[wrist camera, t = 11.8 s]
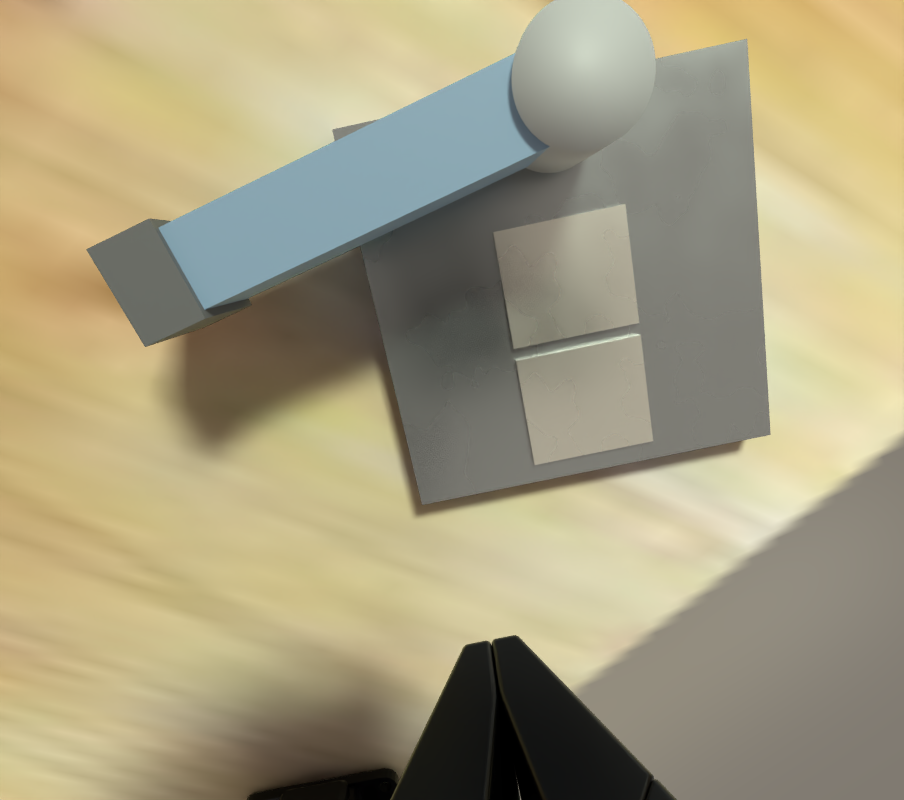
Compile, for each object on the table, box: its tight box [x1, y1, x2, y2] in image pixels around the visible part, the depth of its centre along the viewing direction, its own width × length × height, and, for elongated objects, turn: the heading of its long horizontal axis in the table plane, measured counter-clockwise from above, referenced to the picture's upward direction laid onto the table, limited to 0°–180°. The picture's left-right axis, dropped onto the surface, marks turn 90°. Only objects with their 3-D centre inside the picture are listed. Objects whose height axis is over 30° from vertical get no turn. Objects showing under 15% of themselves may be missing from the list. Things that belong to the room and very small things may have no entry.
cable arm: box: [86, 0, 656, 347], centre depth 14 cm, size 13×3×4 cm, turn 114°
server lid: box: [333, 39, 770, 505], centre depth 18 cm, size 12×12×2 cm
